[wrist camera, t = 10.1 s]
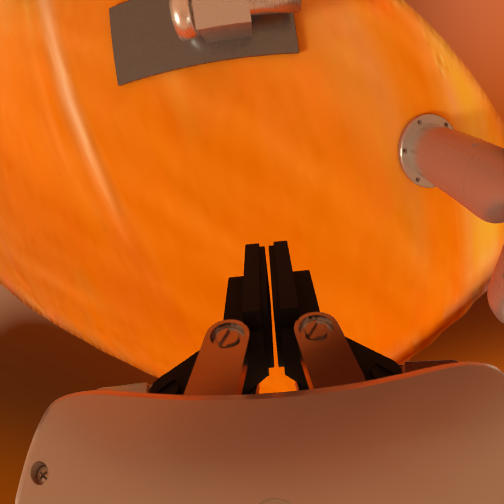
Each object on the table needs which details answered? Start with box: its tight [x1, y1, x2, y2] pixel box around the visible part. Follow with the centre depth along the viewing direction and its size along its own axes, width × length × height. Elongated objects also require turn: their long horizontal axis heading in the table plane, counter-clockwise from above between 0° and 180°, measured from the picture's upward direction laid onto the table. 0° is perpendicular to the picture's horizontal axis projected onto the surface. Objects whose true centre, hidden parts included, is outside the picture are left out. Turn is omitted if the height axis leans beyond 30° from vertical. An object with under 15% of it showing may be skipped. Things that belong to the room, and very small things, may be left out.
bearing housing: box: [109, 0, 299, 86], centre depth 26 cm, size 26×14×10 cm, turn 97°
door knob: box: [169, 0, 301, 41], centre depth 24 cm, size 14×8×8 cm, turn 97°
